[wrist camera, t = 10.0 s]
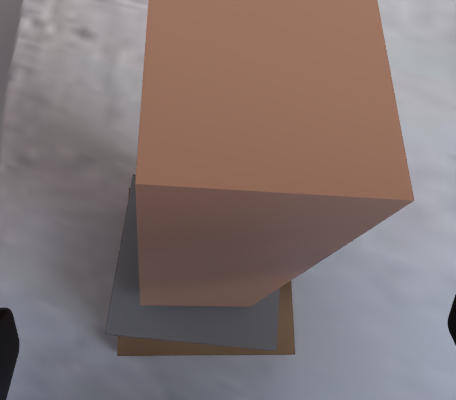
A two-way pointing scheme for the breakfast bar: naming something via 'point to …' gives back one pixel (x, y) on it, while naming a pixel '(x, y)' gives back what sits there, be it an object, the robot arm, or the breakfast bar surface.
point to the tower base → (163, 347)
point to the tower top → (183, 308)
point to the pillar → (260, 144)
